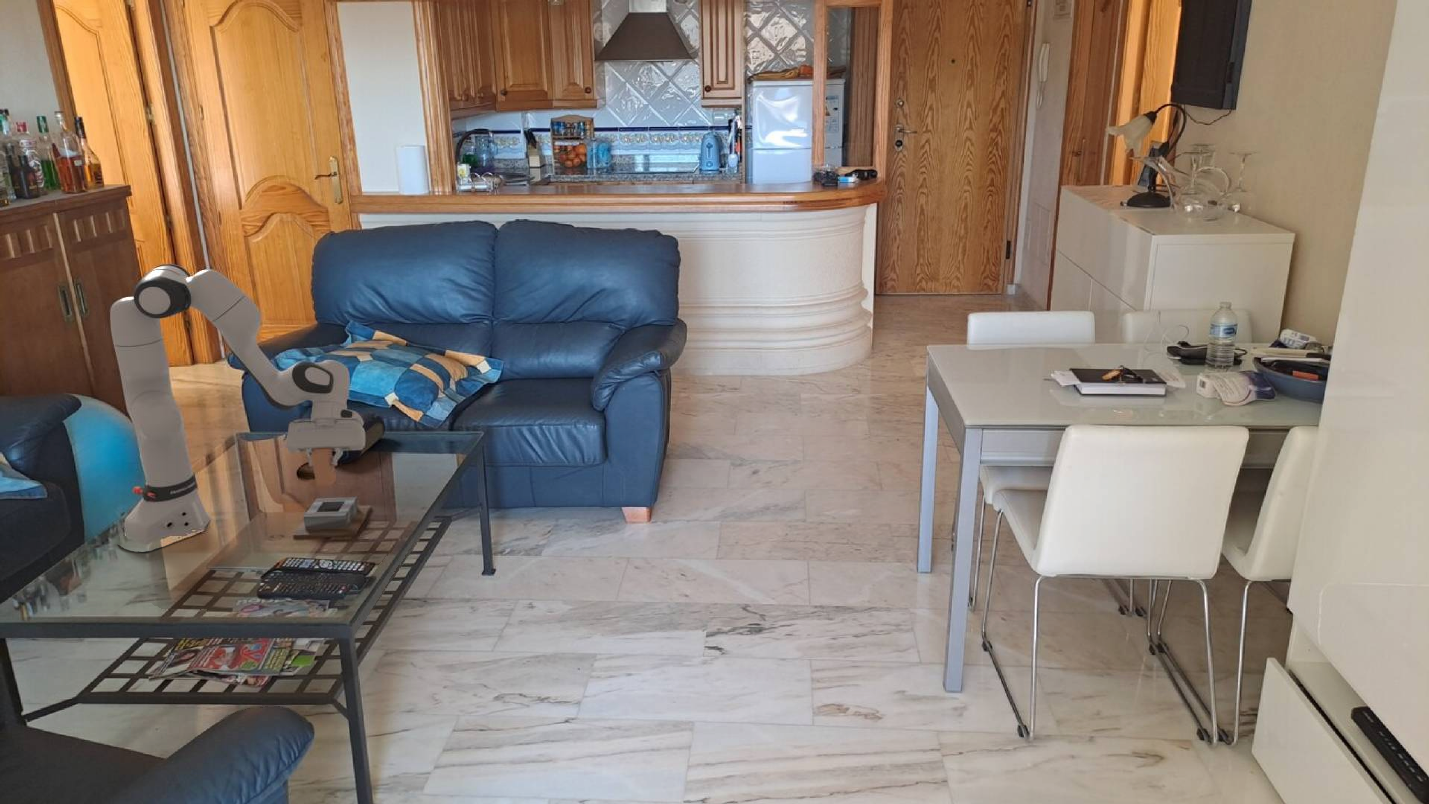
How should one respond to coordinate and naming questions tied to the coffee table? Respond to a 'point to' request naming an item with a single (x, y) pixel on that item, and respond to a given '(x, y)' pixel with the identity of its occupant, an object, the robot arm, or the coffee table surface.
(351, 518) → the well
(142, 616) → the coffee table surface
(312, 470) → the sunglasses case
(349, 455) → the portable speaker
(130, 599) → the coffee table surface
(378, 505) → the coffee table surface
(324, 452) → the post
